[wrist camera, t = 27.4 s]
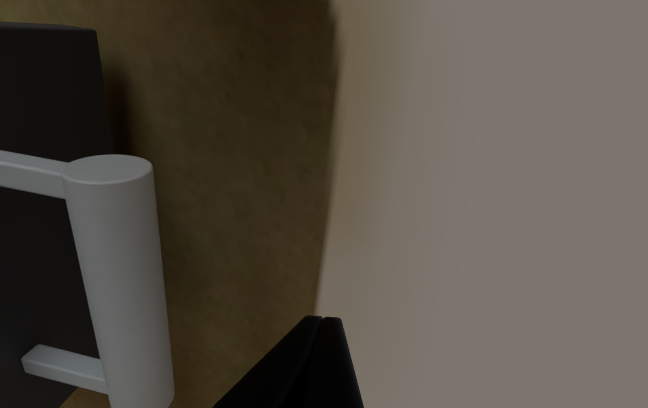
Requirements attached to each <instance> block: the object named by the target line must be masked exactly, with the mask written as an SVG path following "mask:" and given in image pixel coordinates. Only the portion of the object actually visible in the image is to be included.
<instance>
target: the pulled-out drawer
mask: <svg viewBox="0 0 648 408" xmlns="http://www.w3.org/2000/svg"><path fill="white" fill-rule="evenodd" d="M77 387H82V388H85V389H89V390H93V391H96V392H100V393H104V394H108V396H109V401H110V406H111V408H168V407H169V405H170V404H171V402H172V400H173V397H174V392H175V389H174V378H173V368H172V358H171V348H170V337H169V327H168V317H167V306H166V296H165V286H164V276H163V265H162V255H161V245H160V235H159V224H158V214H157V204H156V193H155V183H154V173H153V166H152V164H151V163H150V162H149V161H148V160H146V159H143V158H140V157H136V156H130V155H116V154H114V151H113V144H112V137H111V130H110V123H109V116H108V110H107V103H106V96H105V89H104V82H103V75H102V68H101V61H100V54H99V47H98V40H97V34H96V31H95V30H93V29H88V28H80V27H73V26H66V25H55V24H34V23H14V22H0V408H59V407H60V406H61V405H62V404H63V403H64V402H65V400H66V399H67V398H68V397H69V396H70V395H71V394H72V393H73V392H74V391H75V390H76V389H77Z"/></svg>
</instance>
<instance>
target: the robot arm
mask: <svg viewBox="0 0 648 408" xmlns="http://www.w3.org/2000/svg"><path fill="white" fill-rule="evenodd" d="M212 408H364V406H363V402H362V398H361V394H360V391H359V386H358V383H357V379H356V375H355V371H354V367H353V363H352V360H351V356H350V352H349V348H348V344H347V340H346V336H345V332H344V328H343V324H342V321H341V319H340V318H337V317H325V318H324V319H323V317H321V316H312V315H307V316H305V317H304V318H303V319H302V320H301V321H300V322H299V323H298V324H297V325H296V326H295V327H294V328H293V329H292V330H291V331H290V332H289V333H287V334H286V335H285V336H284V337H283V338H282V339H281V340H280V341H279V342H278V343H277V344H276V345H275V346H274V347H273V348H272V349H271V350H270V351H269V352H268V353H267V354H266V355H265V356H264V357H263V358H262V359H261V360H260V361H259V362H258V363H257V364H256V365H255V366H254V367H253V368H252V369H251V370H250V371H249V372H248V373H247V374H246V375H245V376H244V377H243V378H242V379H241V380H240V381H238V382H237V383H236V384H235V385H234V386H233V387H232V388H231V389H230V390H229V391H228V392H227V393H226V394H225V395H224V396H223V397H222V398H221V399H220V400H219V401H218V402H217V403H216V404H215V405H214V406H213V407H212Z"/></svg>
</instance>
